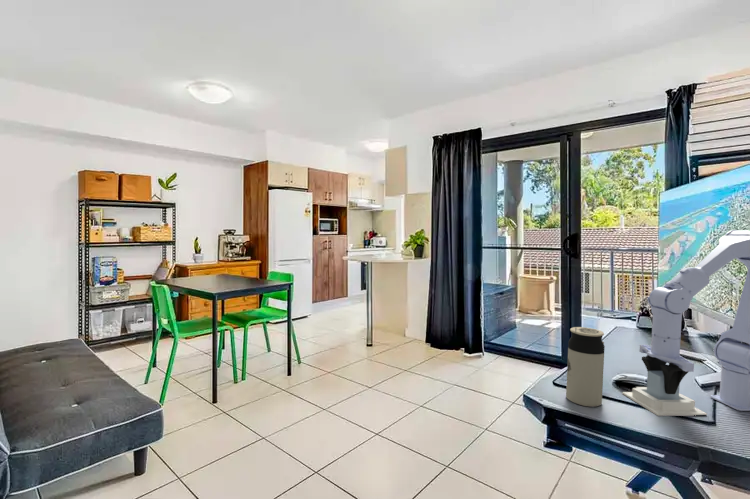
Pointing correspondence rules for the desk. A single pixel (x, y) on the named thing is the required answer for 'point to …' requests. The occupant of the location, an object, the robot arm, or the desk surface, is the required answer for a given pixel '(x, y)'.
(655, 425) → the desk surface
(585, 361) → the travel mug
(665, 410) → the socket plate
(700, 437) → the desk surface
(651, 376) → the plug block
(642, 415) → the desk surface
